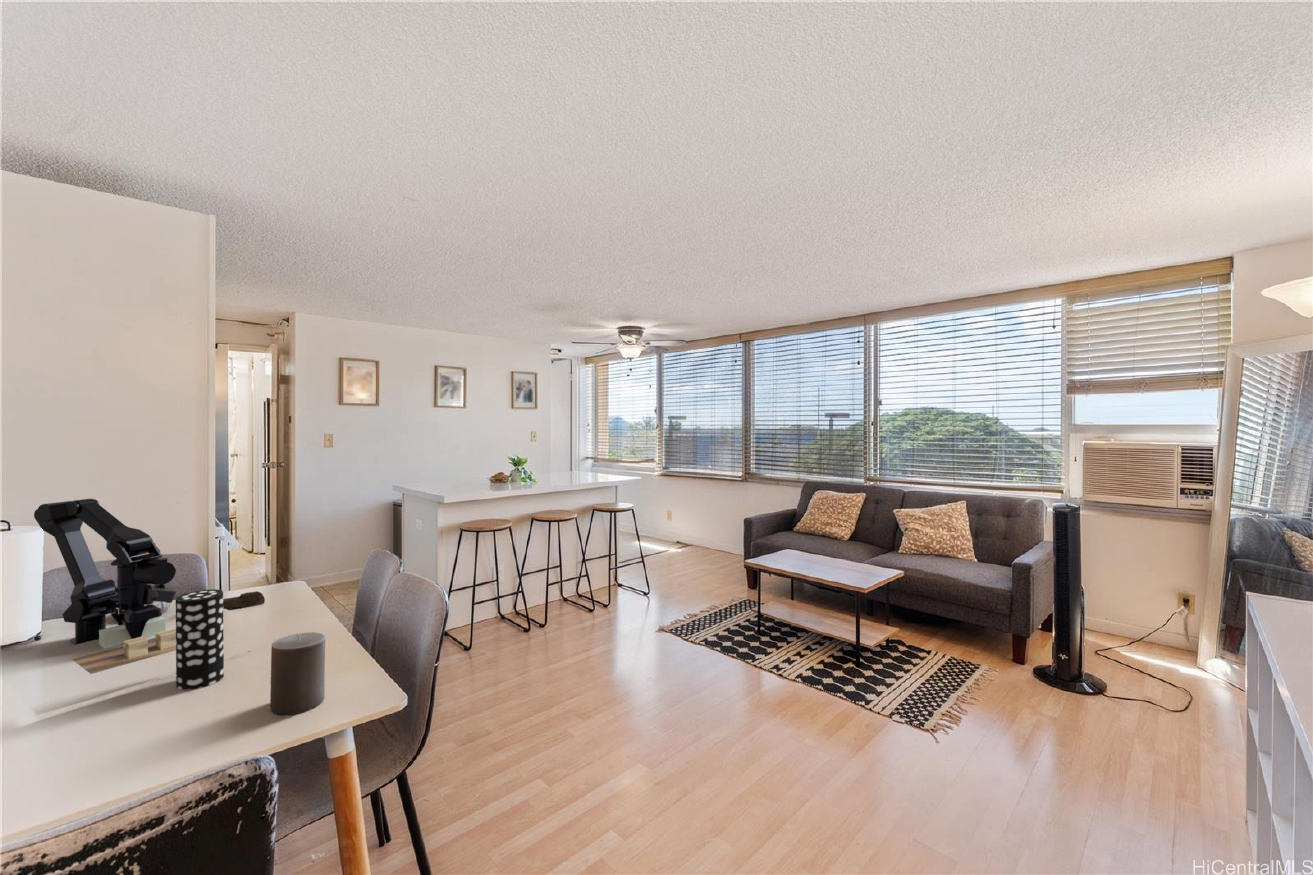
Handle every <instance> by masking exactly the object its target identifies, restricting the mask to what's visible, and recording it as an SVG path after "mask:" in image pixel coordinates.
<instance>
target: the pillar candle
mask: <svg viewBox="0 0 1313 875" xmlns="http://www.w3.org/2000/svg"><path fill="white" fill-rule="evenodd" d="M270 651H271V652H270V653H271V657H270V658H271V659H270V692H269V694H270V696H269V697H270V700H269V704H270V705H269V709H270V712H271V713H273V714H274V715H278V716H292V715H297V714H300V713H304V712H308V711H310V710H312V709H314V708H317V707H318V706H320V705H321V704H322V703H323V702H324V701H325V692H326V691H325V690H326V688H325V686H326V684H325V682H326V681H325V680H326V678H325V676H326V634H325V633H323V632H321V633H320V632H315V631H311V632H310V631H309V632H299V633H290V634H289V635H286V636H283V637H280V638H278V639H275V640H274V641H273V642H272V643H271V650H270Z"/></svg>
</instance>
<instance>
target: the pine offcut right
mask: <svg viewBox="0 0 1313 875" xmlns="http://www.w3.org/2000/svg"><path fill="white" fill-rule="evenodd" d="M155 634H156V636H155V638H156V647H157V648H159V649H160V650H162V649H166V648H170V647H173V646H176V629H175V628H172V629H166V631H162V632H158V633H155Z"/></svg>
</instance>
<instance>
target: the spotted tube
mask: <svg viewBox="0 0 1313 875" xmlns="http://www.w3.org/2000/svg"><path fill="white" fill-rule="evenodd" d="M223 599H224V591H223V590H222V589H217V588H216V589H215V588H214V589H200V590H195V591H191V592H186V593H183V594H180V595H178V596H177V597H175V630H176V650H175V669H176V670H175V675H176V677H175V678H176V683H175V684H176V689H178V690H182V691H189V690H192V691H193V690H197V689H201V688H205V687H208V686H211V685H213V684H216V683H218V682H220V681H221V680H222V679H223V678H224V677H225V676H224V675H225V672H224V671H225V669H224V667H225V666H224V665H225V664H224V661H225V660H224V658H225V657H224V649H225V648H224V646H225V645H224V609H223Z"/></svg>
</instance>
